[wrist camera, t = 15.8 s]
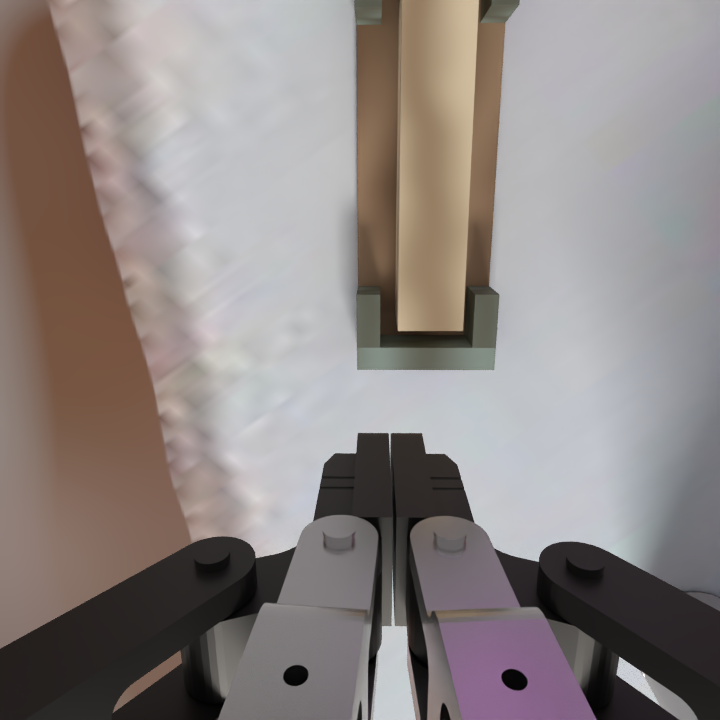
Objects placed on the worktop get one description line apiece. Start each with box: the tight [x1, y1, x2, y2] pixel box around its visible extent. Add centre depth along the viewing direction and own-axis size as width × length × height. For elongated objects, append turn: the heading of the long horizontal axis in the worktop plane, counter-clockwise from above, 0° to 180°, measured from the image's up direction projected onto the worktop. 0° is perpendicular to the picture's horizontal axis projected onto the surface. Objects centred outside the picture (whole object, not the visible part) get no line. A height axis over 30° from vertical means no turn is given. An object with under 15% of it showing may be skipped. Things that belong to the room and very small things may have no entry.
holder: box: [355, 0, 519, 370], centre depth 34 cm, size 9×26×4 cm, turn 0°
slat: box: [395, 0, 479, 331], centre depth 33 cm, size 4×20×5 cm, turn 1°
